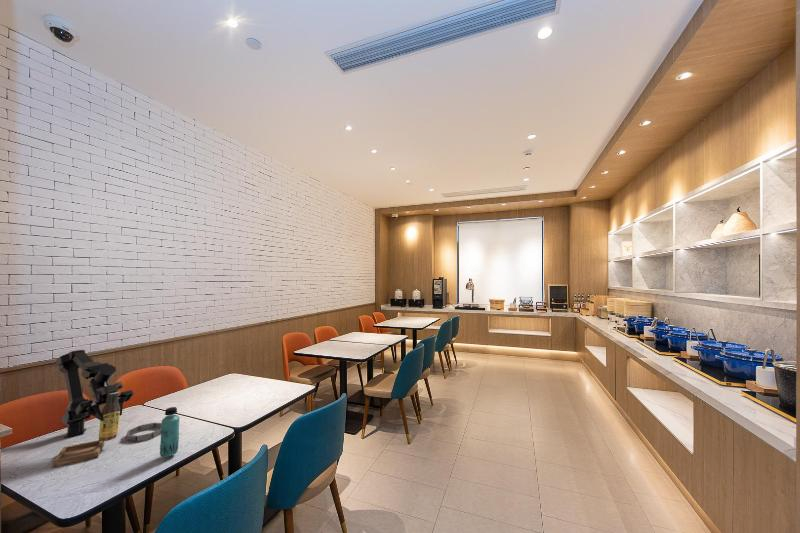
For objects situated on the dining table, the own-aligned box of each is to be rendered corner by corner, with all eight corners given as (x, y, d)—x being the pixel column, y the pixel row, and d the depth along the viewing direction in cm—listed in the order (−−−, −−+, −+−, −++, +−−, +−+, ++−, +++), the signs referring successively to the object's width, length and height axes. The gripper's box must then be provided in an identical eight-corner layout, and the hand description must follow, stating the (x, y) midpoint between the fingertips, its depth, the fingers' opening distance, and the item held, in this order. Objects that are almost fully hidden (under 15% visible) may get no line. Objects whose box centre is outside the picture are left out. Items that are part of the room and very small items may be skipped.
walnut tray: (63, 453, 135) (63, 447, 135) (104, 444, 142) (104, 438, 142) (52, 468, 124) (53, 461, 124) (97, 457, 132) (98, 451, 132)
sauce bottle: (100, 443, 135) (103, 396, 136) (96, 439, 138) (99, 393, 140) (120, 437, 140) (123, 392, 141) (116, 433, 144) (119, 389, 145)
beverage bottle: (165, 452, 136) (167, 405, 137) (182, 452, 136) (183, 404, 137) (155, 461, 129) (157, 411, 130) (172, 460, 130) (174, 411, 131)
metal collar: (128, 432, 153) (128, 427, 154) (164, 425, 161) (164, 420, 162) (124, 445, 142) (124, 439, 142) (163, 436, 150) (163, 431, 150)
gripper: (80, 383, 134) (91, 415, 129) (132, 372, 151) (144, 399, 146) (70, 399, 137) (81, 430, 132) (122, 386, 154) (134, 413, 149)
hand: (112, 417), depth 139 cm, fingers closed on sauce bottle, 6 cm apart
